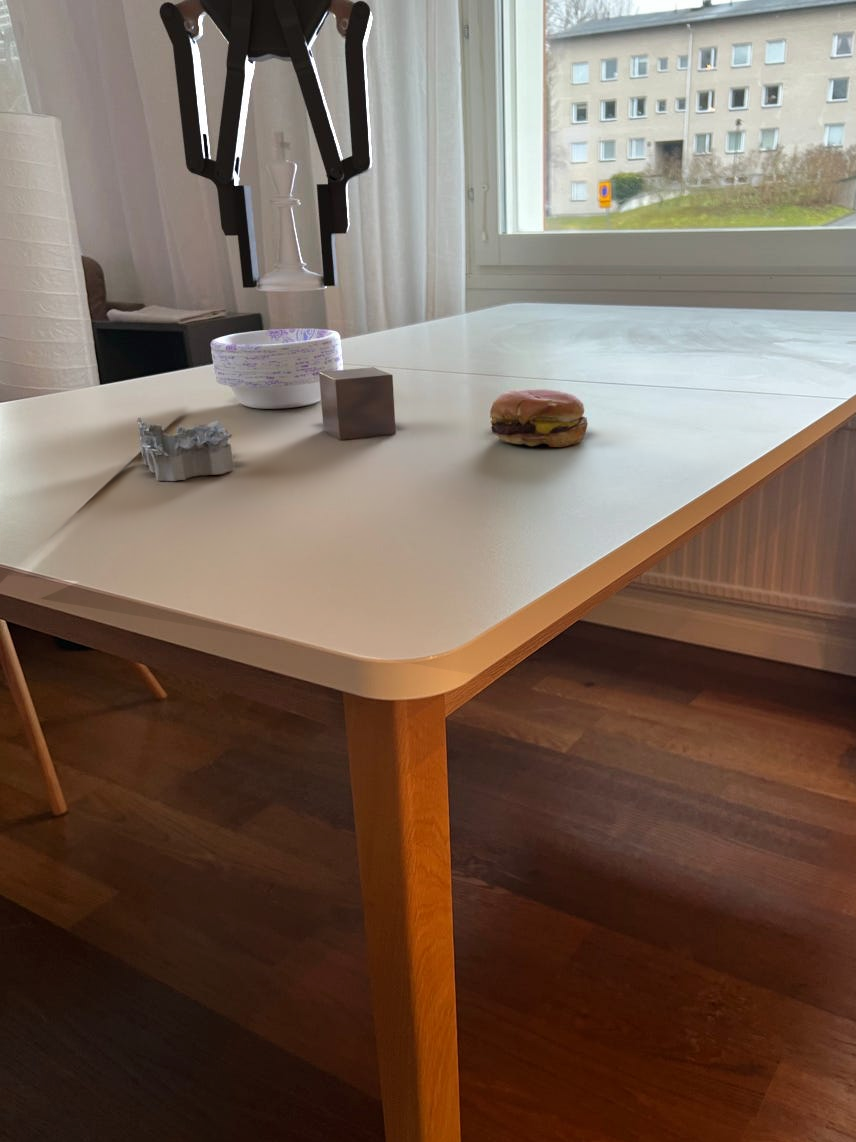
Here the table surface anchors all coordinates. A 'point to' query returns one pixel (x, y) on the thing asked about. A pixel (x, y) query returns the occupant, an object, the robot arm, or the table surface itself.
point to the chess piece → (286, 230)
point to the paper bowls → (276, 365)
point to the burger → (538, 418)
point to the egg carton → (186, 451)
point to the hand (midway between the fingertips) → (291, 284)
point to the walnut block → (357, 403)
